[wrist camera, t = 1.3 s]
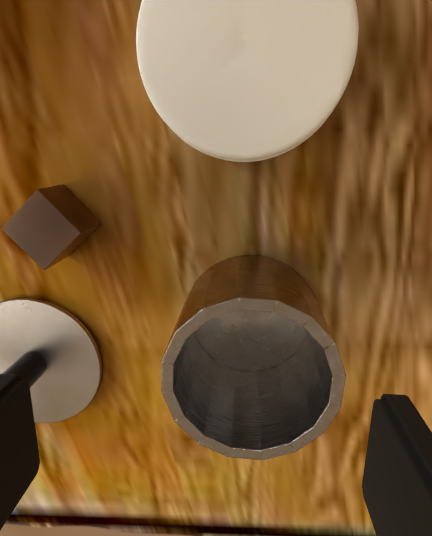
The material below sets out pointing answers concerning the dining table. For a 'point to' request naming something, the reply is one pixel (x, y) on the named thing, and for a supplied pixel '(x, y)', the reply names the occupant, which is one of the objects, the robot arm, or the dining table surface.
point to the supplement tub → (246, 70)
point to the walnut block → (51, 225)
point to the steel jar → (252, 361)
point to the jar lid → (49, 357)
